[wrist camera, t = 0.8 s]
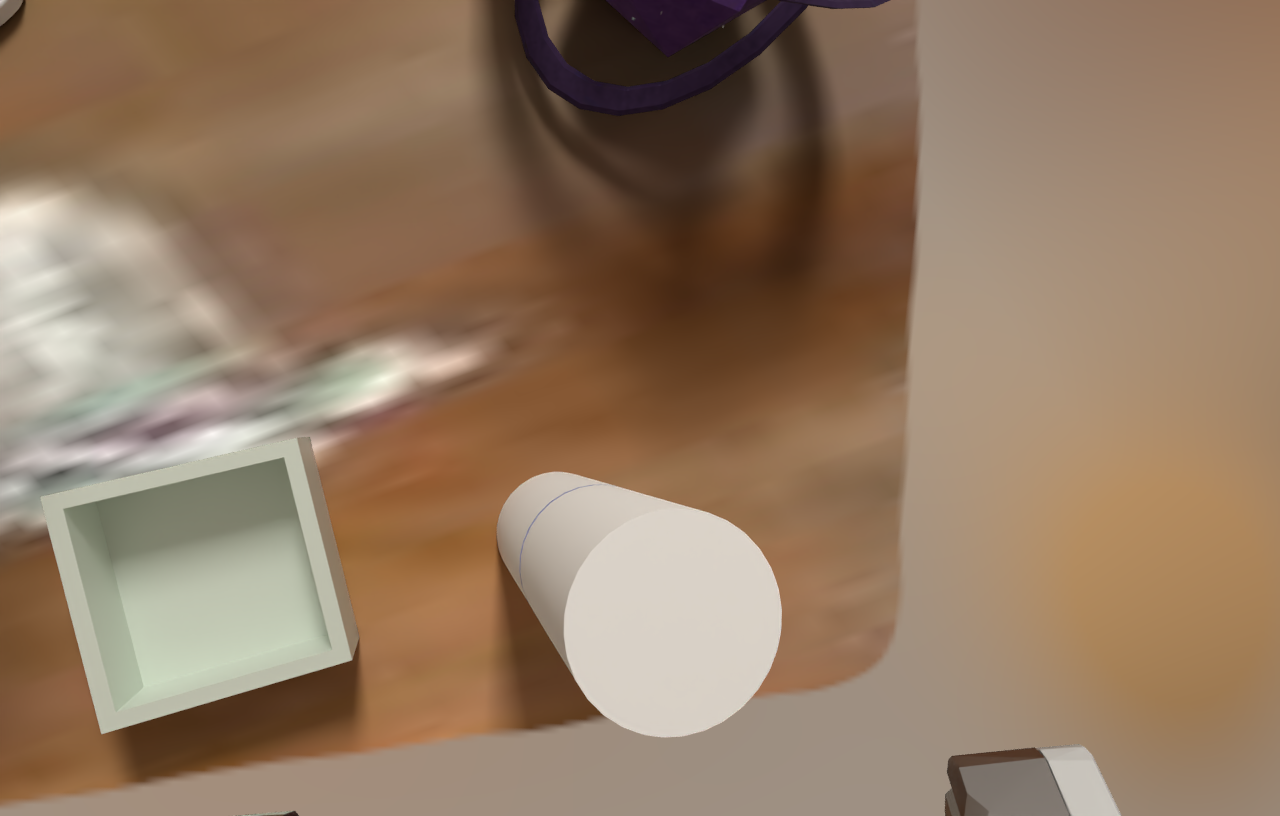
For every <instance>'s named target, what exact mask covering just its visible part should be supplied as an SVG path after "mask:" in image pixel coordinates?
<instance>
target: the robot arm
mask: <svg viewBox="0 0 1280 816" xmlns="http://www.w3.org/2000/svg"><path fill="white" fill-rule="evenodd" d="M22 2H23V0H0V26H1V25H2V24H4V23H5V22H6V21H7V20H8V19H9V18H10V17H12V16H13V15H14V14H15V12H16V11H17V10H18V9H19V7H20V6H21V4H22ZM947 774H948V777H949V780H950V784H951V787H952V789H950V790H949V791H948V792H947V793H946V794H945V816H1121V814H1120V812H1119V810H1118V808H1117V805H1116V803H1115V801H1114V800H1113V797H1112V795H1111V793H1110V791H1109V789H1108V787H1107V785H1106V783H1105V781H1104V778H1103V776H1102V774H1101V772H1100V770H1099V768H1098V766H1097V764H1096V762H1095V760H1094V758H1093V756H1092V754H1091V753H1090V752H1089V751H1088V750H1087V749H1086V748H1085V747H1084V746H1081V745H1079V744H1077V745H1066V746H1054V747H1042V748H1025V749H1015V750H1005V751H996V752H986V753H976V754H967V755H957V756H951V757H950V758H949V760H948V768H947ZM238 816H299V815H298V814H297V813H296V811H286V812H274V813H262V814H250V815H238Z"/></svg>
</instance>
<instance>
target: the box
mask: <svg viewBox="0 0 1280 816" xmlns="http://www.w3.org/2000/svg"><path fill="white" fill-rule="evenodd" d="M40 499H41V503H42V507H43V511H44V515H45V518H46V522H47V526H48V530H49V534H50V538H51V542H52V545H53V549H54V553H55V557H56V561H57V565H58V569H59V572H60V576H61V580H62V584H63V588H64V592H65V595H66V599H67V603H68V607H69V611H70V615H71V619H72V622H73V626H74V630H75V634H76V638H77V642H78V646H79V649H80V653H81V657H82V661H83V665H84V669H85V673H86V676H87V680H88V684H89V688H90V692H91V696H92V700H93V703H94V707H95V711H96V715H97V719H98V723H99V727H100V730H101V734H104V733H107V732H111V731H114V730H117V729H121V728H124V727H128V726H131V725H134V724H138V723H141V722H144V721H148V720H151V719H155V718H158V717H161V716H165V715H168V714H172V713H175V712H178V711H182V710H185V709H189V708H192V707H195V706H199V705H202V704H206V703H209V702H212V701H216V700H219V699H223V698H226V697H229V696H233V695H236V694H239V693H243V692H246V691H250V690H253V689H256V688H260V687H263V686H267V685H270V684H273V683H277V682H280V681H284V680H287V679H290V678H294V677H297V676H301V675H304V674H307V673H311V672H314V671H318V670H321V669H324V668H328V667H331V666H334V665H338V664H341V663H345V662H348V661H351V660H352V659H353V656H354V653H355V650H356V647H357V643H358V640H359V634H358V630H357V625H356V621H355V617H354V613H353V609H352V605H351V601H350V597H349V593H348V589H347V585H346V581H345V577H344V573H343V569H342V565H341V561H340V557H339V553H338V549H337V545H336V541H335V537H334V533H333V529H332V525H331V521H330V517H329V513H328V509H327V505H326V501H325V497H324V493H323V489H322V485H321V481H320V477H319V473H318V469H317V465H316V461H315V457H314V453H313V449H312V444H311V440H310V437H304V438H294V439H290V440H285V441H281V442H277V443H272V444H268V445H264V446H259V447H255V448H251V449H246V450H242V451H237V452H233V453H229V454H224V455H220V456H216V457H211V458H207V459H203V460H198V461H194V462H190V463H185V464H181V465H176V466H172V467H168V468H163V469H159V470H155V471H150V472H146V473H142V474H137V475H133V476H129V477H124V478H120V479H115V480H111V481H107V482H102V483H98V484H94V485H89V486H85V487H81V488H76V489H72V490H68V491H63V492H59V493H54V494H50V495H46V496H41V497H40Z"/></svg>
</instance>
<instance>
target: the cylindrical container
mask: <svg viewBox="0 0 1280 816" xmlns="http://www.w3.org/2000/svg"><path fill="white" fill-rule="evenodd" d="M497 543H498V549H499V552H500V554H501V557H502V560H503V561H504V563H505V565H506V567H507V568H508V570H509V572H510V573H511V575H512V577H513V578H514V580H515V582H516V583H517V585H518V587H519V588H520V590H521V591H522V593H523V595H524V596H525V598H526V599H527V601H528V603H529V604H530V606H531V608H532V609H533V611H534V613H535V614H536V616H537V618H538V620H539V621H540V623H541V625H542V626H543V628H544V630H545V631H546V633H547V635H548V636H549V638H550V640H551V641H552V643H553V645H554V646H555V648H556V649H557V651H558V653H559V654H560V656H561V658H562V659H563V661H564V662H565V664H566V666H567V667H568V669H569V671H570V672H571V674H572V675H573V677H574V679H575V680H576V682H577V683H578V685H579V687H580V688H581V690H582V691H583V693H584V694H585V696H586V698H587V699H588V700H589V701H590V702H591V703H592V704H593V705H594V706H595V707H596V708H597V709H598V710H599V711H600V712H601V713H602V714H603V715H604V716H605V717H607V718H609V719H610V720H612V721H613V722H615V723H617V724H618V725H620V726H621V727H623V728H626V729H628V730H631V731H634V732H637V733H640V734H643V735H649V736H656V737H678V736H686V735H690V734H694V733H697V732H701V731H704V730H707V729H708V728H711V727H713V726H715V725H717V724H719V723H721V722H723V721H725V720H726V719H727V718H729V717H730V716H731V715H733V714H734V713H735V712H737V711H738V710H739V709H740V708H742V707H743V706H744V705H745V704H746V702H747V701H748V700H749V699H750V698H751V697H752V696H753V695H754V694H755V692H756V691H757V690H758V689H759V687H760V685H761V684H762V682H763V680H764V679H765V677H766V675H767V674H768V672H769V670H770V668H771V665H772V663H773V660H774V657H775V655H776V652H777V649H778V644H779V638H780V633H781V616H782V608H781V602H780V595H779V589H778V586H777V583H776V580H775V577H774V575H773V572H772V569H771V567H770V565H769V563H768V562H767V560H766V558H765V557H764V555H763V553H762V552H761V550H760V549H759V548H758V546H757V545H756V544H755V543H754V542H753V541H752V540H751V539H750V538H749V537H748V536H747V535H746V534H745V533H744V532H743V531H741V530H740V529H739V528H737V527H736V526H734V525H733V524H731V523H730V522H729V521H727V520H725V519H722V518H720V517H717V516H715V515H713V514H710V513H708V512H704V511H701V510H697V509H694V508H690V507H687V506H683V505H680V504H676V503H673V502H669V501H666V500H662V499H659V498H655V497H652V496H649V495H645V494H642V493H638V492H635V491H631V490H628V489H624V488H621V487H617V486H614V485H610V484H607V483H603V482H600V481H596V480H593V479H589V478H586V477H582V476H579V475H575V474H571V473H566V472H550V473H544V474H541V475H538V476H535V477H533V478H530V479H529V480H527V481H526V482H524V483H523V484H521V485H520V486H519V487H518V488H517V489H516V490H515V491H514V492H513V493H511V495H510V496H509V498H508V499H507V501H506V502H505V504H504V506H503V508H502V510H501V513H500V515H499V519H498V524H497Z"/></svg>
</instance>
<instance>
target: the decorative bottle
mask: <svg viewBox="0 0 1280 816" xmlns="http://www.w3.org/2000/svg"><path fill="white" fill-rule="evenodd" d="M606 1H607V2H608V3H609V4H610V5H611V6H612V7H614V8H615V9H616V10H617V11H618V12H619V13H620V14H621V15H622V16H623V17H624V18H626V19H627V20H628V21H629V22H630V23H631V24H632V25H633V26H634V27H635V28H636V29H638V30H639V31H640V32H641V33H642V34H643V35H644V36H645V37H646V38H647V39H648V40H650V41H651V42H652V43H653V44H654V45H655V46H656V47H657V48H658V49H659V50H660V51H662V52H663V53H664V54H665V55H666V56H667V57H669V56H671V55H673V54H674V53H676V52H678V51H680V50H681V49H683V48H685V47H686V46H688V45H690V44H692V43H693V42H695V41H697V40H699V39H700V38H702V37H704V36H705V35H707V34H709V33H711V32H712V31H714V30H716V29H718V28H719V27H721V26H722V28H724V27H725V26H724V24H726V23H728V22H730V21H731V20H733V19H735V18H736V17H738V16H740V15H742V14H743V13H745V12H747V11H749V10H750V9H752V8H754V7H755V6H757V5H759V4H761V3H762V2H764V1H766V0H606ZM779 1H781V2H780V3H779V4H778V5H777V6H776V7H775V8H774V9H773V10H772V11H771V12H770V13H769V14H768V15H767V16H766V17H765V18H764V19H763V20H762V21H761V22H760V23H759V24H758V25H757V26H756V27H755V28H754V29H753V30H752V31H751V32H750V33H749V34H748V35H746V36H745V37H743V38H742V39H740V40H739V41H738V42H736V43H735V44H733V45H732V46H731V47H729V48H728V49H726V50H725V51H724V52H722V53H721V54H719V55H718V56H717V57H715V58H714V59H712V60H711V61H710V62H708V63H706V64H704V65H701V66H699V67H697V68H695V69H692V70H690V71H688V72H685V73H683V74H681V75H679V76H676V77H674V78H672V79H669V80H667V81H662V82H655V83H649V84H643V85H636V86H630V87H626V86H620V85H615V84H609V83H603V82H597V81H594V80H592V79H590V78H589V77H587V76H586V75H584V74H583V73H581V72H579V71H578V70H576V69H575V68H573V67H571V66H570V65H568V64H567V63H566V61H565V60H564V58H563V57H562V56H561V54H560V53H559V51H558V50H557V48H556V47H555V46H554V44H553V43H552V41H551V40H550V38H549V37H548V34H547V30H546V27H545V23H544V19H543V16H542V12H541V9H540V5H539V2H538V0H515V19H516V22H517V26H518V29H519V33H520V36H521V40H522V43H523V47H524V51H525V54H526V58H527V59H528V60H529V62H530V63H531V65H532V66H533V68H534V69H535V70H536V72H537V73H538V75H539V76H540V78H541V79H542V81H543V82H544V83H545V85H546V86H547V88H548V89H549V90H551V91H552V92H554V93H556V94H557V95H559V96H560V97H562V98H563V99H565V100H566V101H568V102H570V103H571V104H573V105H574V106H576V107H577V108H579V109H583V110H589V111H594V112H600V113H605V114H611V115H616V116H621V115H627V114H634V113H641V112H648V111H655V110H662V109H665V108H667V107H669V106H672V105H674V104H676V103H679V102H681V101H683V100H686V99H688V98H691V97H693V96H695V95H698V94H700V93H702V92H705V91H707V90H709V89H711V88H713V87H714V86H716V85H717V84H719V83H720V82H721V81H723V80H724V79H726V78H727V77H729V76H730V75H731V74H733V73H734V72H736V71H737V70H739V69H740V68H741V67H743V66H744V65H746V64H747V63H749V62H750V61H751V60H753V59H754V58H756V57H757V56H759V55H760V54H761V53H762V52H763V51H764V50H765V49H766V48H767V47H768V46H769V45H770V44H771V43H772V42H773V41H774V40H775V39H776V38H777V37H778V36H779V35H780V34H781V33H782V32H783V31H784V30H785V29H786V28H787V27H788V26H789V25H790V24H791V23H792V22H793V21H794V20H795V19H796V18H797V17H798V16H799V15H800V14H801V13H802V12H803V11H804V10H805V9H806V8H807V6H808V5H810V6H817V7H823V8H830V9H844V8H871V7H876V6H878V5H880V4H883V3H885V2H887V1H890V0H779Z"/></svg>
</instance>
